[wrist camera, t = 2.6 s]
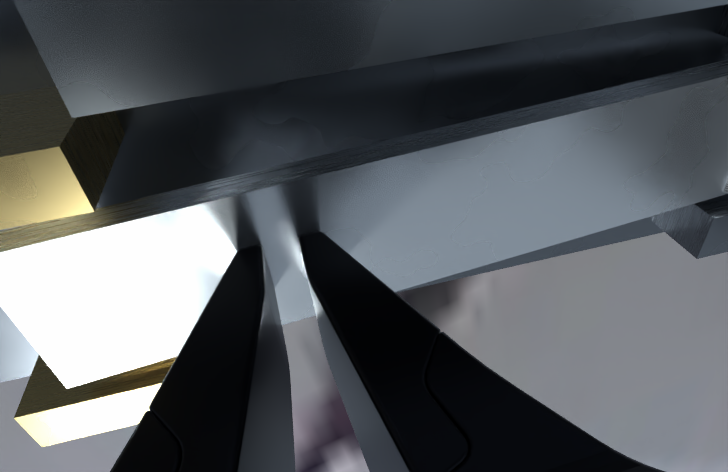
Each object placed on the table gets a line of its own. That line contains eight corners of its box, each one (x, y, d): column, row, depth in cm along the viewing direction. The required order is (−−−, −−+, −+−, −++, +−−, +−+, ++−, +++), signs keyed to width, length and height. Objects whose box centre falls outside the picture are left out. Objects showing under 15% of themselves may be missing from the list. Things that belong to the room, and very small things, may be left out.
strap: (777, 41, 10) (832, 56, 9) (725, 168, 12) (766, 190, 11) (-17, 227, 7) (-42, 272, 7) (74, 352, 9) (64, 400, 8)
